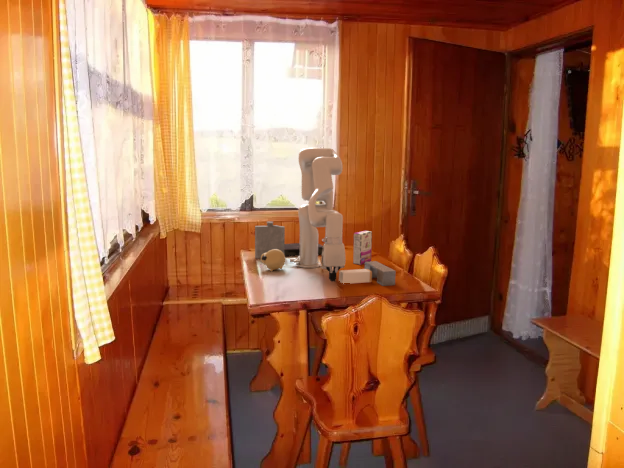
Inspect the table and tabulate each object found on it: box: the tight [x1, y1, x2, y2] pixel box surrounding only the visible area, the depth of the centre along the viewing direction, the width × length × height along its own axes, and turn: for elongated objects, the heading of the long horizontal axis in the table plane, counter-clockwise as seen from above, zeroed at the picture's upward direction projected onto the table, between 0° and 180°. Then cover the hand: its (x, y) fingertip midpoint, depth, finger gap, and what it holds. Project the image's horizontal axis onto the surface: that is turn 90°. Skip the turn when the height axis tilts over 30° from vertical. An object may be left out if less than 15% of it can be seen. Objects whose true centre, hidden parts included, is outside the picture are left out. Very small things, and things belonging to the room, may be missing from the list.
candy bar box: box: [352, 230, 373, 266], centre depth 269 cm, size 11×5×16 cm, turn 143°
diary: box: [284, 242, 323, 258], centre depth 292 cm, size 19×25×5 cm
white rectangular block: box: [338, 268, 373, 285], centre depth 231 cm, size 14×5×5 cm, turn 108°
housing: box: [364, 260, 397, 287], centre depth 235 cm, size 6×20×6 cm, turn 19°
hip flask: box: [254, 221, 286, 260], centre depth 275 cm, size 16×4×20 cm, turn 91°
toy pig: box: [260, 249, 286, 272], centre depth 249 cm, size 10×12×11 cm
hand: (332, 280), depth 228 cm, fingers closed
